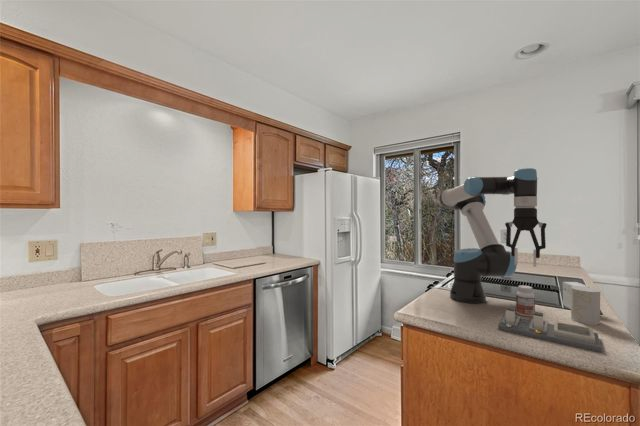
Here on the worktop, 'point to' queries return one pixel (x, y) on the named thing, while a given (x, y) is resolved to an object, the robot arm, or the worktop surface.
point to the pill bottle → (525, 301)
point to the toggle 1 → (510, 315)
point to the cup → (585, 305)
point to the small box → (569, 292)
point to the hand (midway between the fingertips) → (525, 265)
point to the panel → (554, 333)
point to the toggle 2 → (538, 320)
